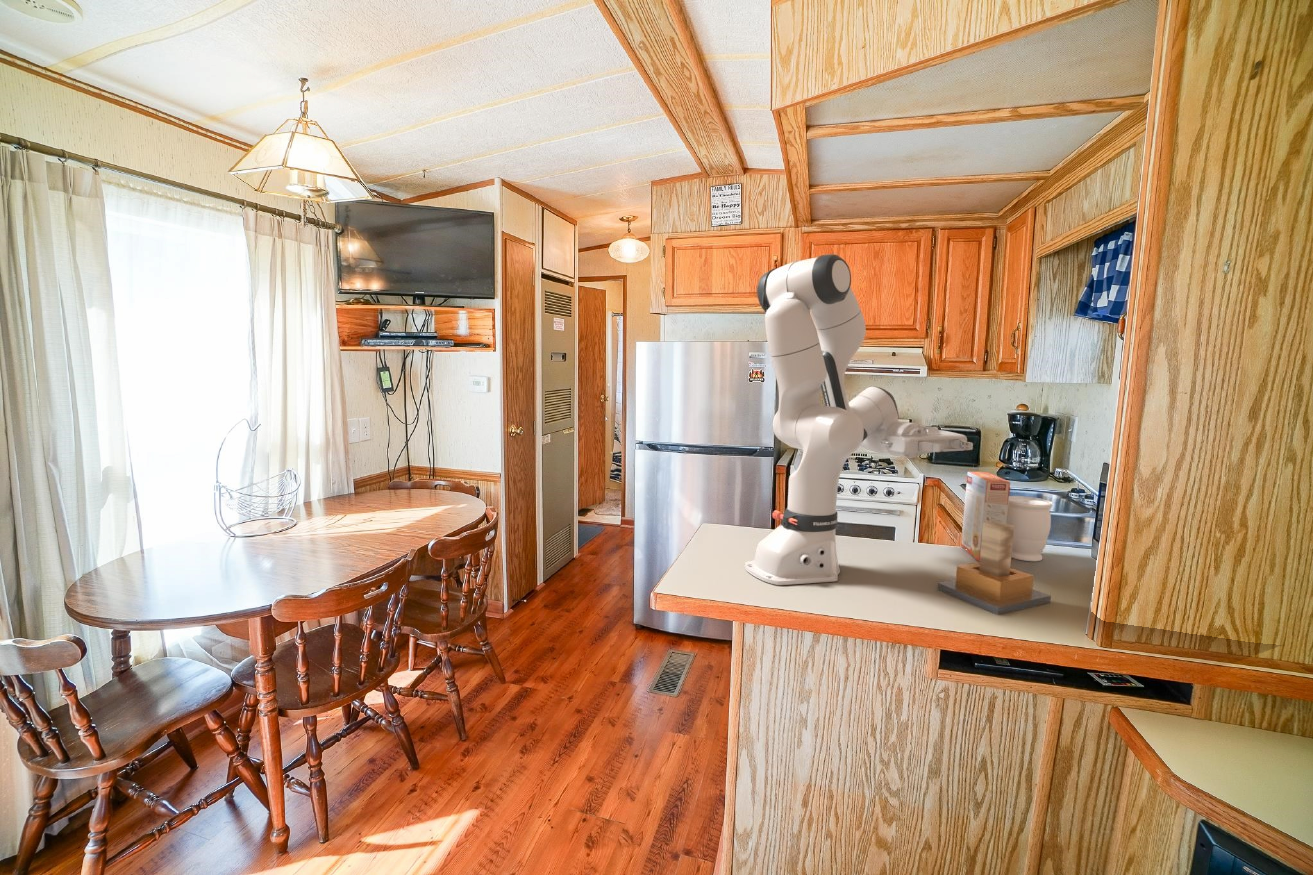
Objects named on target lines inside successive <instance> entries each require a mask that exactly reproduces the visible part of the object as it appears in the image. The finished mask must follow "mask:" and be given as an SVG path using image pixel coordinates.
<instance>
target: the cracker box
mask: <svg viewBox="0 0 1313 875" xmlns="http://www.w3.org/2000/svg"><path fill="white" fill-rule="evenodd" d="M965 486H966V487H965V498H964V507H963V508H964V509H963V518H962V519H963V520H962V529H961V530H962V531H961V541H960V547H962V548H963V549H964V550H965V549H967V550H965V551H966V552H967V553H968V554H969V555H971V556H972V557H973V558H974V559H975V560H976V561H977V562H980V553H981V541H982V530H983V523H988V522H1000V523H1004V524H1006V522H1007V512H1008V503H1009V496H1010V491H1011V490H1010V489H1011V481H1009V480H1006V479H1004V478H1002V477H1000V476H998V475H996V474H993V473H991V472H987V471H967V474H966V484H965Z"/></svg>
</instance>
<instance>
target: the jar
mask: <svg viewBox="0 0 1313 875" xmlns="http://www.w3.org/2000/svg"><path fill="white" fill-rule="evenodd" d="M1051 508H1053V502H1052V501H1050V500H1046V499H1043V498H1039V497H1032V496H1026V495H1025V496H1023V495H1009V503H1008V512H1007V522H1006V524H1008V525H1011V526H1014V533H1013V544H1012V554H1011V559H1015V560H1019V561H1025V562H1040V561H1042V560H1043V556H1042V554H1041V553H1042V552H1043V551H1044V549H1045V547H1046V544H1047V542H1048V538H1049V535H1050V532H1051V523H1052V515H1051V510H1050V509H1051Z"/></svg>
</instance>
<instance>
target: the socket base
mask: <svg viewBox="0 0 1313 875" xmlns="http://www.w3.org/2000/svg"><path fill="white" fill-rule="evenodd" d="M979 565H980V562H979V561H977V562H974V563H968V564H962V565H957V566H956V577H955V578H954V579H950V580H946V581H940V582H937V587H936V588H937V589H936V590H938V591H941V592H943V593H946V594H948V595H950V596H952V597H954V598H957V599H959V600H962V601H964V602H966V603H969V604H971V605H973V606H975V607H978V608H981V609H983V610H986V611H988V612H990V613H992V614H995V615H1003V614H1006V613H1011V612H1016V611H1020V610H1024V609H1029V608H1033V606H1034V607H1038V606H1041V604H1042V605H1047V604H1050V603H1051V599H1052V595H1051V594H1047V593H1044V592H1042V591H1038V590H1036V589H1033V588H1034V587H1033V585H1034V578H1035V577H1034V575H1033V574H1030V573H1027V572H1023V571H1021V570H1018V569H1015V568H1011V567H1010V575H1008V576H1003V577H996V576H993V575H990V574H987V573H984V572H982V571H979ZM1046 603H1047V604H1046Z"/></svg>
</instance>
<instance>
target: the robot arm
mask: <svg viewBox="0 0 1313 875" xmlns="http://www.w3.org/2000/svg"><path fill="white" fill-rule="evenodd" d="M851 285H852V273H851V270H850V267H849V265H848V263H847V262H846V261H845V260H844V259H843V258H842V257H841V256H840V255H837V254H833V253H832V254H823V255H822V254H821V255H820V256H818V257H817V256H816V257H812V258H807V259H802V260H795V261H792V262H789V263H787V264H784V265H782V266H780V267H777V268H775V267H774V268H772V269H771V270H768V271H767V272H765V273H764V274H762V275H761V277H760V278H759V280H758V284H757V287H756V296H757V300H758V302H759V305H760V307H761V309H762V310H763V311H764V313H765V315H764V326H765V327H764V328H765V335H766V336H765V337H766V341H767V347H768V351H769V354H770V359H771V364H772V366H773V371H774V375H775V378H776V382H777V388H778V408H777V411H776V413H775V414H774V417H773V419H772V420H773V421H772V431H773V433H774V435H775V437H776V438H777V439H778V440H779V441H780V442H782V443H783V444H785V445H787V446H788V447H790V448H792V449H797V450H802V457H801V460H800V462H799V465H798V467H797V469H795V470H793V472H792V473H791V474H790V475H789V477H788V490H787V491H788V492H787V494H788V495H787V507H786V508H785V510H784V512H782V511H779V510H774V511H773V512H772V518H773V519H774V520H777V521H780V524H779V525H778V526H777V527H776V528H774V530H773V531H771V532H770V533H769V534H767V535H766V536H765V537H764V538H763V539H761V540H760V541H759V542H758V544H757V545H756V549H755V554H754V559H752V560H748V561H745V564H744V570H746V571H747V573H749V574H751V576H754V577H755V578H757V579H759V580H760V581H763V582H766V583H768V584H771V585H776V586H786V585H802V584H804V585H805V584H812V583H813V584H814V583H815V584H817V583H829V582H838V581H839V580H838V578H839V576H838V575H839V574H840V573H841V570H840V566H839V564H840V563H839V558H838V554H837V552H838V551H837V542H836V529H837V528H838V523H839V521H838V517H839V516H838V512H837V501H838V499H837V498H838V489H839V488H838V486H839V480H840V476H841V472H842V470H843V468H844V466H845V463H846V462H847V460H848V459H849V457H850V456H851V455H852V454H853V453H855V452H856V451H857V450H858V449H859V448H860V447H861V448H863V449H864V450H865V449H866V450H867V451H871V452H874V453H879V454H890V455H892V456H894V457H900V458H906V459H914V458H918V456H923V455H926V454H931V453H941V452H958V451H972V450H973V449H974V447H973V446H974V443H973V442H970V441H968V438H967V436H966V435H965V434H962V433H957V432H952V431H947V430H942V429H939V428H938V427H936V426H930V425H929V426H928V425H923V424H920V423H918V422H908V421H900V420H899V418H900V417H899V411H898V410H899V409H898V406H897V402H896V400H895V397H894V396H893V394H892V393H891V392H889V391H888V390H886V389H885V388H882V387H880V386H872V385H871V386H868V387H867V388H866V389H864V390H863V391H861V392H859V393H858V394H857V395H856V396H855V397H854V398H852V399H851V400H850V401H849V399H848V394H847V390H846V389H847V388H846V384H845V374H846V371H847V368H848V366H849V364H850V363H851V361H852V359H853V357H854V356H855V355H856V353H857V352H858V350H859V349H860V347H861V346H862V345H863V343H864V340H865V337H866V334H867V330H866V322H865V317H864V314H863V312H862V309H861V307H860V305H859V304H860V303H859V302H858V299H857V297H856V296H855V293H854V291H853V290H852V287H851ZM821 393H822V397H823V402H824V405H823V404H822V401H821Z"/></svg>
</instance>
